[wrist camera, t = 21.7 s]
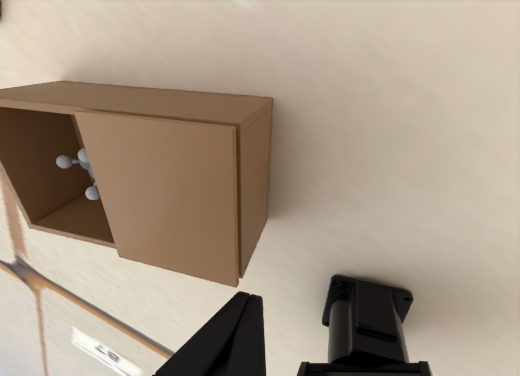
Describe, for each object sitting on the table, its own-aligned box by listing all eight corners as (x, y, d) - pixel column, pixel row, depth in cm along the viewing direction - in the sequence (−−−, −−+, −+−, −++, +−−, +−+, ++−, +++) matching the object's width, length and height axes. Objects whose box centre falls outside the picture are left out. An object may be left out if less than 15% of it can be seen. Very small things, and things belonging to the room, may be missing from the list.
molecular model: (99, 169, 24) (47, 196, 20) (86, 123, 22) (25, 143, 18) (241, 197, 21) (216, 236, 17) (243, 148, 19) (215, 178, 15)
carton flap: (236, 126, 12) (232, 129, 11) (239, 283, 17) (236, 288, 16) (79, 108, 14) (72, 110, 13) (123, 253, 19) (119, 257, 18)
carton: (272, 97, 17) (240, 123, 12) (267, 220, 22) (242, 279, 17) (60, 80, 21) (-39, 94, 16) (94, 189, 26) (29, 228, 21)
